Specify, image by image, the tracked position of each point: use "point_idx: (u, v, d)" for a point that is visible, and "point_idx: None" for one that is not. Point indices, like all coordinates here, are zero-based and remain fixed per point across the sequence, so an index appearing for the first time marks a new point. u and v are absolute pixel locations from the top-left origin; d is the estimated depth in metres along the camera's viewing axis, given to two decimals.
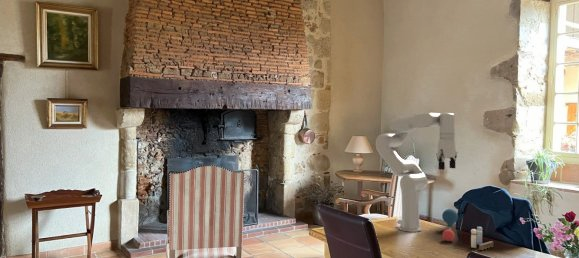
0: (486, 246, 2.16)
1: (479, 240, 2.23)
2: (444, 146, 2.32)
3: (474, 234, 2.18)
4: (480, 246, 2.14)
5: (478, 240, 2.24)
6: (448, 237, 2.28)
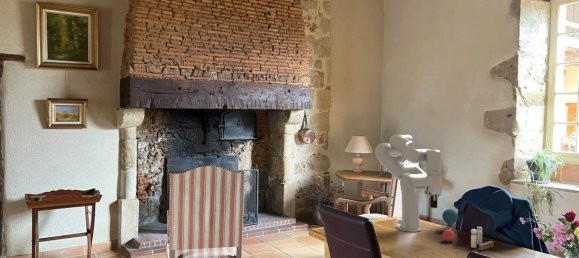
0: (486, 246, 2.16)
1: (479, 240, 2.23)
2: (430, 184, 2.33)
3: (474, 234, 2.18)
4: (480, 246, 2.14)
5: (478, 240, 2.24)
6: (448, 237, 2.28)
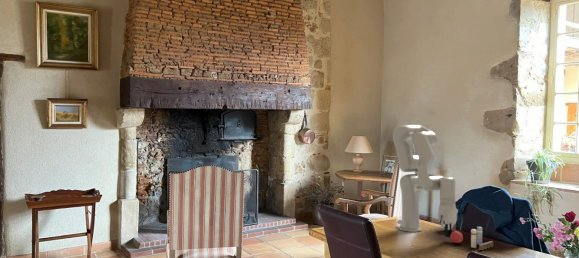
0: (486, 246, 2.16)
1: (479, 240, 2.23)
2: (445, 213, 2.27)
3: (474, 234, 2.18)
4: (480, 246, 2.14)
5: (478, 240, 2.24)
6: (453, 241, 2.26)
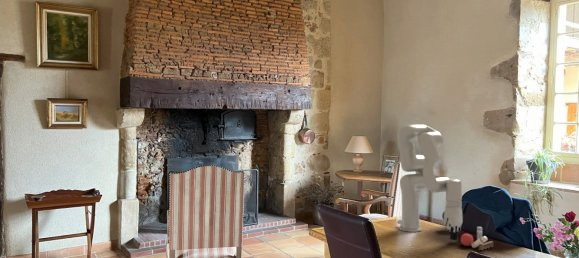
0: (486, 246, 2.16)
1: None
2: (451, 215, 2.24)
3: None
4: (480, 246, 2.14)
5: None
6: (461, 239, 2.22)
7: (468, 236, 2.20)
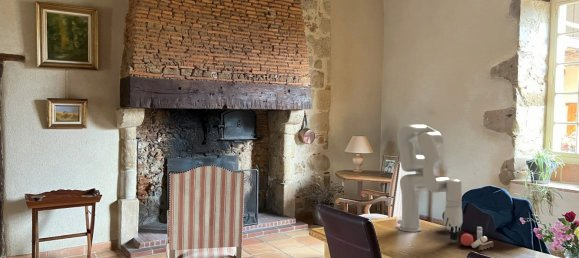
0: (486, 246, 2.16)
1: None
2: (451, 215, 2.24)
3: None
4: (480, 246, 2.14)
5: None
6: (461, 239, 2.22)
7: (468, 236, 2.20)
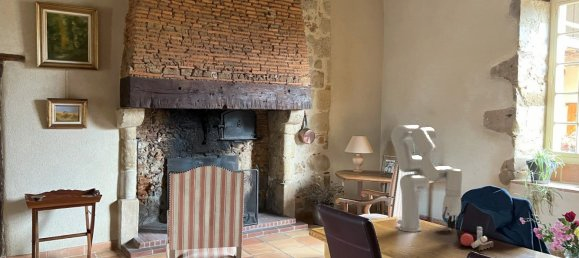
0: (486, 246, 2.16)
1: None
2: (449, 204, 2.25)
3: None
4: (480, 246, 2.14)
5: None
6: (461, 239, 2.22)
7: (468, 236, 2.20)
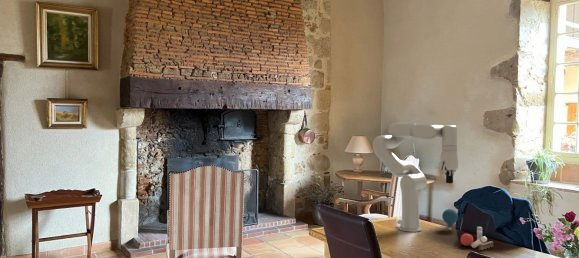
0: (486, 246, 2.16)
1: None
2: (446, 159, 2.33)
3: None
4: (480, 246, 2.14)
5: None
6: (461, 239, 2.22)
7: (468, 236, 2.20)
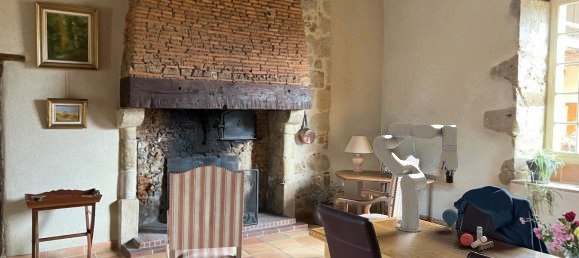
0: (486, 246, 2.16)
1: None
2: (446, 159, 2.33)
3: None
4: (480, 246, 2.14)
5: None
6: (461, 239, 2.22)
7: (468, 236, 2.20)
